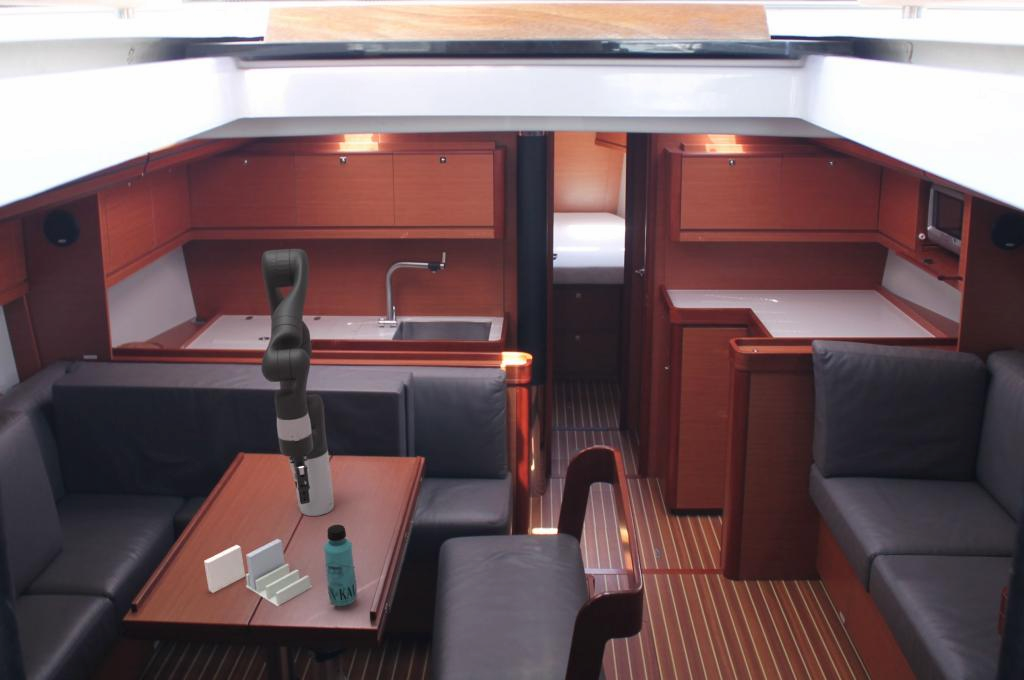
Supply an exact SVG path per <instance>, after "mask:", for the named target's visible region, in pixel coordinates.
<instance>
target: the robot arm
mask: <svg viewBox="0 0 1024 680" xmlns="http://www.w3.org/2000/svg"><path fill="white" fill-rule="evenodd" d="M261 257H262V258H261V270H262V271H261V272H262V277H263V282H264V286H265V292H266V297H267V301H268V306H269V312H270V320H271V321H270V322H271V323H270V325H271V327H270V329H271V330H270V339H269V343H268V345H267V347H266V349H265V351H264V353H263V357H262V360H261V367H260V369H261V374H262V376H263V377H264V378H265V379H266V380H267V381H268V382H270V383H271V382H272V383H277V382H278V383H279V387H280V389H279V390H277V391H276V392H275V393H274V405H275V412H276V428H277V429H276V430H277V438H278V445H279V451H280V454H281V455H283V456H284V457H288V460H289V461H288V462H289V464H290V465H289V466H290V469H291V471H292V477H293V480H294V484H295V491H296V499H297V506H298V508H299V509H300V512H301V513H302V514H303V515H305V516H308V517H317V516H322V515H326V514H328V513H330V512H331V511H333V509H334V508H335V501H334V491H333V483H332V482H333V481H332V475H331V473H332V472H331V466H330V457H329V450H328V449H329V447H328V442H327V441H328V440H327V435H326V421H325V420H326V418H325V405H324V402H323V399H322V397H321V396H320V395H319V394H315V393H314V394H307V385H308V378H309V374H310V368H311V357H312V353H313V352H312V351H313V348H312V341H311V333H310V329H309V327H308V325H307V324H306V323H305V322H304V320H303V316H304V310H305V303H306V298H307V294H308V293H307V292H308V286H309V280H310V264H309V257H308V255H307V253H306V251H305V250H304V249H301V248H286V249H271V250H266V251H264V252H263V254H262V256H261ZM289 287H290V291H289V292H288V293H287V295H286V296H285V297H284V295H283V293H282V290H281V288H289ZM291 287H292V288H291Z"/></svg>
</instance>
